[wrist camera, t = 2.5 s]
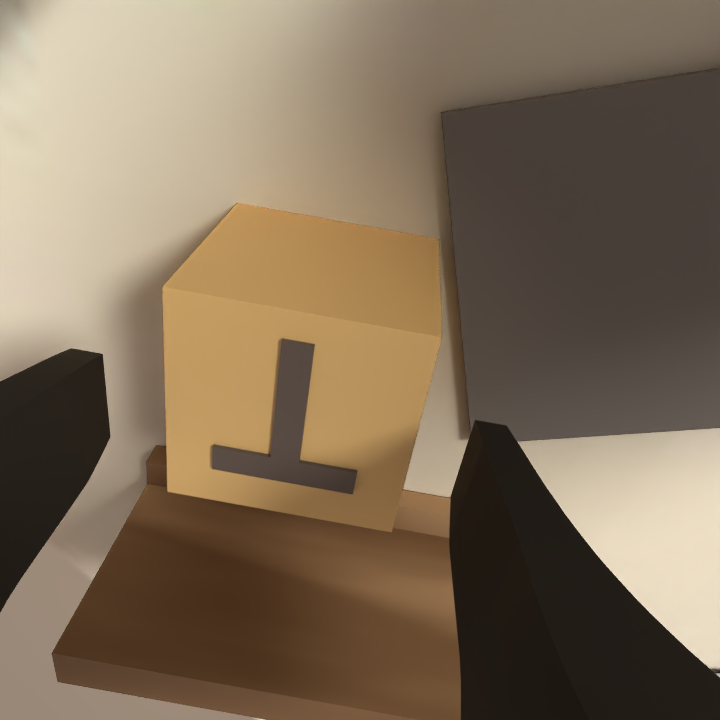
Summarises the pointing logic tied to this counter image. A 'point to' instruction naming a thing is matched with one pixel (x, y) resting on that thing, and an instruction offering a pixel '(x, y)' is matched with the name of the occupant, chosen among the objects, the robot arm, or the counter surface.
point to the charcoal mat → (590, 258)
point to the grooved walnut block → (271, 611)
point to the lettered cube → (299, 364)
